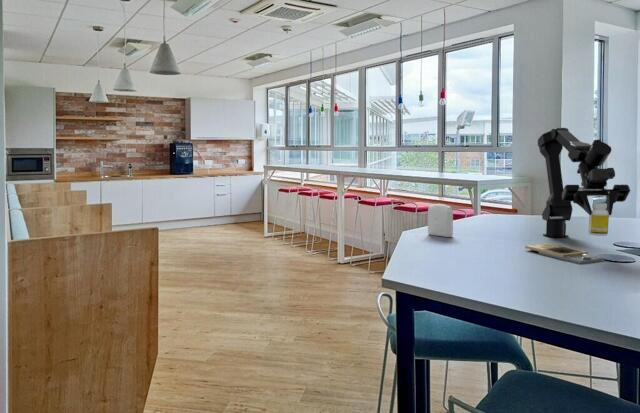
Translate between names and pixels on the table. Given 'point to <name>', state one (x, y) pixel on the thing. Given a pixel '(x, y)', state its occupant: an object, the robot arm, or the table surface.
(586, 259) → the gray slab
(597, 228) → the supplement bottle
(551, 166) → the robot arm
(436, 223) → the photo printer
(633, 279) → the table surface
